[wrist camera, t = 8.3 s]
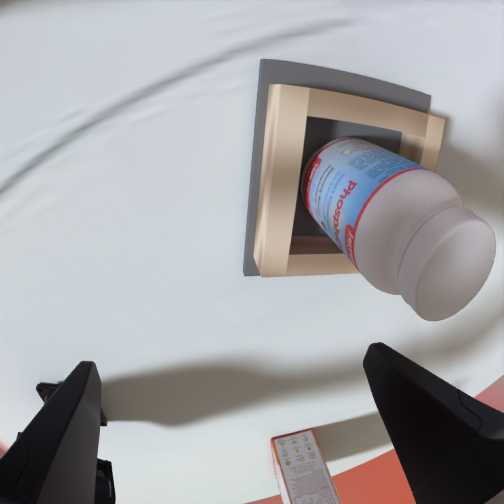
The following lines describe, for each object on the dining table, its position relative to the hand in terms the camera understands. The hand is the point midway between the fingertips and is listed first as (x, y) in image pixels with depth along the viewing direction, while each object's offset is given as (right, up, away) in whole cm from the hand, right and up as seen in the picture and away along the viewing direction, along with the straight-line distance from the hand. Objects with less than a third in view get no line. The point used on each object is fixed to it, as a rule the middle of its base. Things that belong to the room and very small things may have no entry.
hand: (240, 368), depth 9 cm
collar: (+6, +8, +11) cm, 15 cm away
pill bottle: (+6, +8, +11) cm, 15 cm away
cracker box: (+6, -25, +30) cm, 39 cm away
